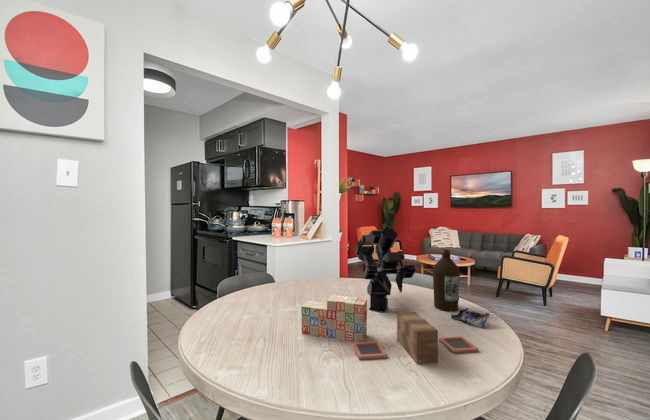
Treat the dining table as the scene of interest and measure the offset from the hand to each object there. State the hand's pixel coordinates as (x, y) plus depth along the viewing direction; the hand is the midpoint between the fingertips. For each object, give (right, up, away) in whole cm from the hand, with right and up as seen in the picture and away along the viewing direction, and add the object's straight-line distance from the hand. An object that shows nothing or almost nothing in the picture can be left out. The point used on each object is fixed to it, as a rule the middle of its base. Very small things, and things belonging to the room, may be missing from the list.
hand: (395, 292), depth 99 cm
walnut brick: (+2, -13, -16) cm, 21 cm away
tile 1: (-12, -13, -17) cm, 24 cm away
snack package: (+29, -13, +6) cm, 33 cm away
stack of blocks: (-22, -13, -5) cm, 26 cm away
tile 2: (+16, -13, -13) cm, 24 cm away
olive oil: (+27, -13, +20) cm, 36 cm away
